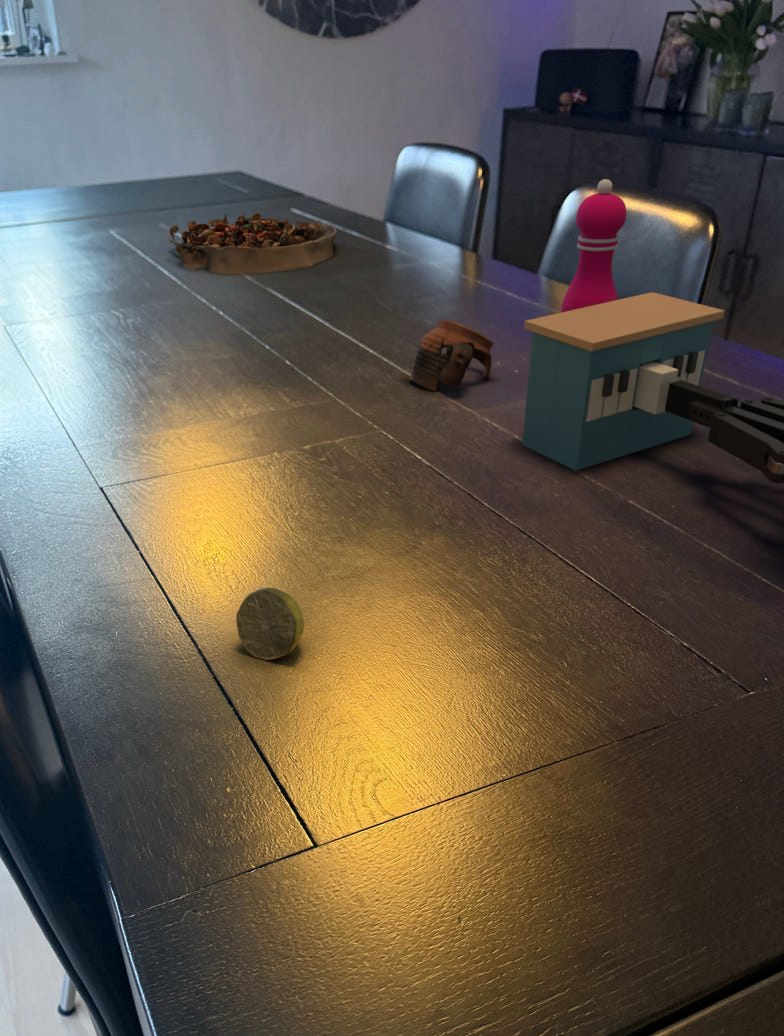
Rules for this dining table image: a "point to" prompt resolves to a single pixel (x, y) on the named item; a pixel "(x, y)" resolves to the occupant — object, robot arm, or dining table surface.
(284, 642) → the lime
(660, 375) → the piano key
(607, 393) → the toy piano
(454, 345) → the rusty brown helmet
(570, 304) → the pepper mill
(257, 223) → the food dish
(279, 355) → the dining table surface
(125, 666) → the dining table surface
